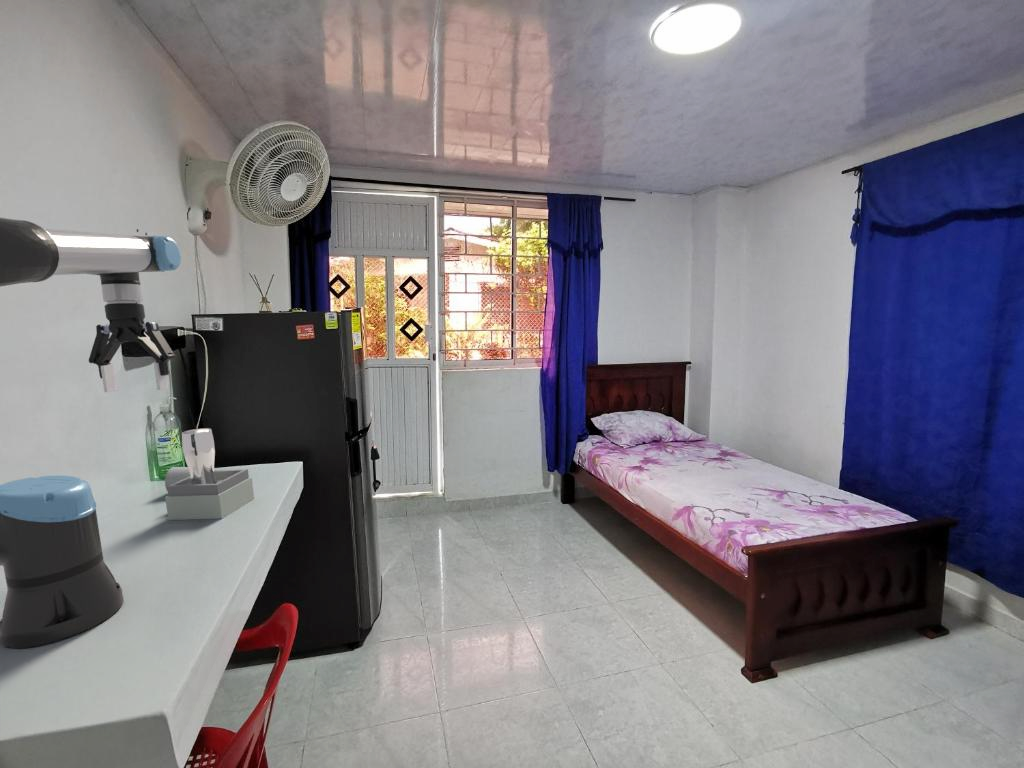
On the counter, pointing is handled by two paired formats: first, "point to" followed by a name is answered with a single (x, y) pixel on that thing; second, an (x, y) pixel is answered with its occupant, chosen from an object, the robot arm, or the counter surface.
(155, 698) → the counter surface
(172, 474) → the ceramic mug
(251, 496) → the grey box with knob
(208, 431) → the beer glass
